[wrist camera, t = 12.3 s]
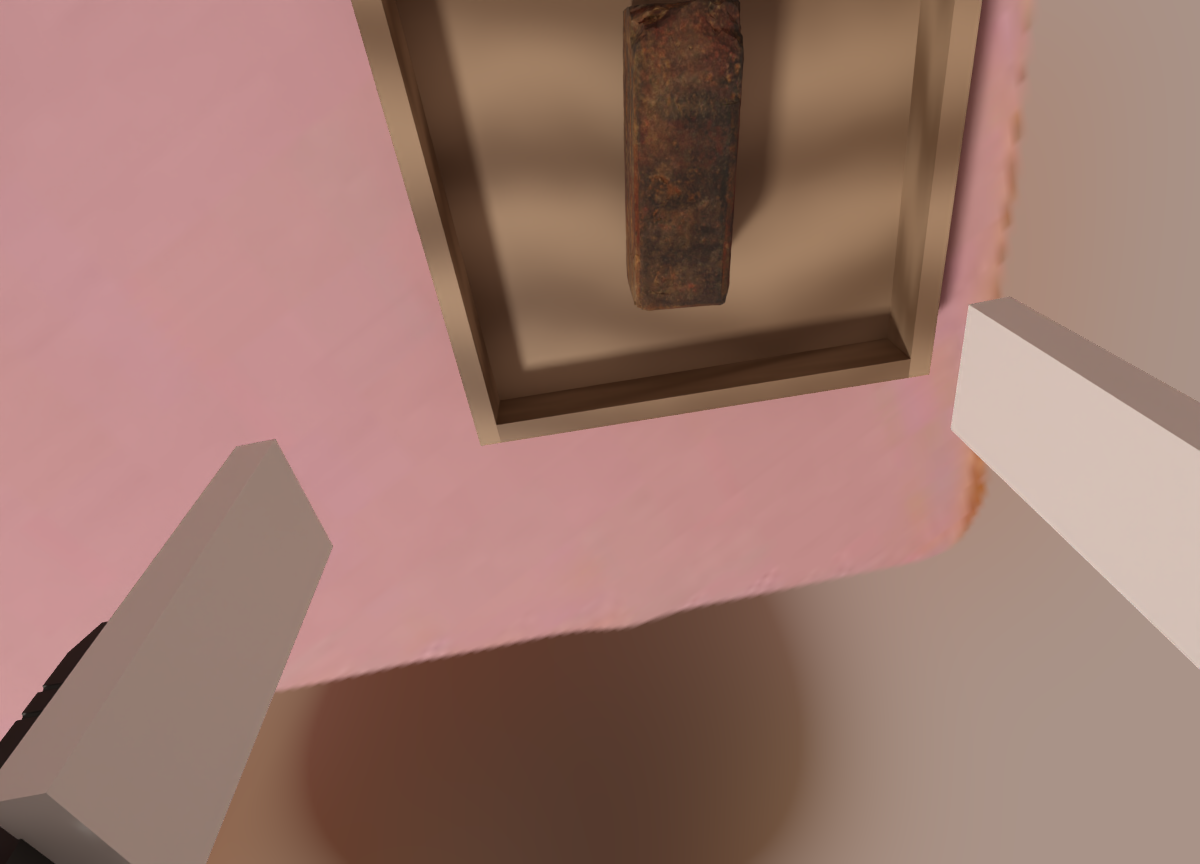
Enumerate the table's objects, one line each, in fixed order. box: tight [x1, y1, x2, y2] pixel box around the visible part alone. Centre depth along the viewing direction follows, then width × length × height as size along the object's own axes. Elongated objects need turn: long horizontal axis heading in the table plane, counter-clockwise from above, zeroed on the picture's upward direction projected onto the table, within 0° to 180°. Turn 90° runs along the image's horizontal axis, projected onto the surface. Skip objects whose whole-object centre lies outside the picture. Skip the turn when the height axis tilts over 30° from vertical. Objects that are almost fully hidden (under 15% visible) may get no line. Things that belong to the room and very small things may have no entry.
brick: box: [623, 0, 744, 311], centre depth 25 cm, size 11×4×5 cm, turn 2°
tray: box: [351, 0, 982, 446], centre depth 27 cm, size 22×22×3 cm
